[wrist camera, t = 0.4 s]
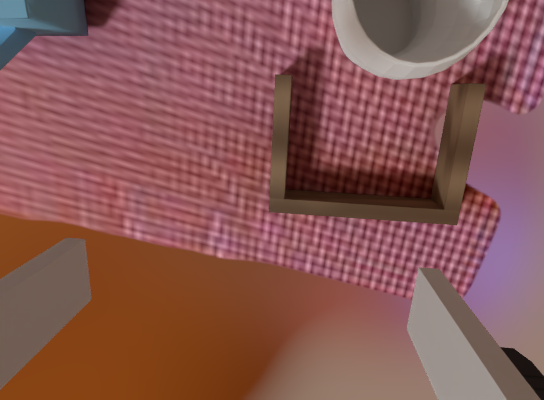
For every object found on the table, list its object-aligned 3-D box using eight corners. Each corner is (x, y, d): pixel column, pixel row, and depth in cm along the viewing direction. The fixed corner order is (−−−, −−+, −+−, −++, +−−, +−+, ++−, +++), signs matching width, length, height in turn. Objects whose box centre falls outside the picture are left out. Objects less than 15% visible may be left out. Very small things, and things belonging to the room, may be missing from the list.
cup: (452, -13, 34) (566, -94, 19) (404, 98, 37) (471, 100, 22) (346, -52, 33) (381, -162, 19) (307, 64, 36) (311, 44, 22)
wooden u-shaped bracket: (278, 76, 37) (275, 74, 33) (466, 85, 36) (486, 84, 32) (272, 201, 41) (269, 212, 37) (442, 212, 40) (457, 225, 36)
